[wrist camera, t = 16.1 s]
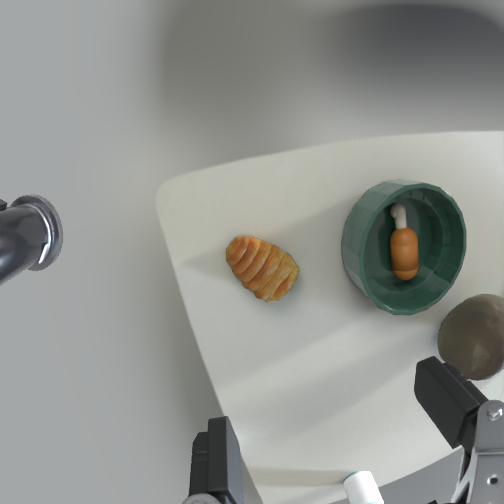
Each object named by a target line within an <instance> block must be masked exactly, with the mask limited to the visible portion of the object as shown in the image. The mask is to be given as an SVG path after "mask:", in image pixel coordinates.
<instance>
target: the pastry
mask: <svg viewBox="0 0 504 504" xmlns="http://www.w3.org/2000/svg"><path fill="white" fill-rule="evenodd" d="M226 261H227V262H228V264H229V265H230V267H231V268H232V271H233V272H234V274H235V275H236V276H237V277H238V279H239V280H240V281H241V282H242V284H243V286H244V287H245V288H247V289H249V290H250V291H252V292H253V293H255V296H256V297H257V298H258V299H264V300H265V301H266V302H275V301H278V300H280V299H281V298H282V297H283V296H285V295H286V294H287V293H288V292H289V291H290V289H291V288H292V286H293V284H294V283H295V281H296V279H297V277H298V273H299V267H298V266H297V265H296V263H295V262H294V260H293V258H292V257H291V256H290V255H289V254H288V253H286V252H284V251H283V250H281V249H279V248H278V247H277V246H274V245H272V244H269V243H266V242H264V241H262V240H259V239H257V238H254V237H250V236H239V237H236V238H234V239H233V240H232V241H231V243H230V244H229V246H228V248H227V249H226Z"/></svg>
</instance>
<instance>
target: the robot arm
mask: <svg viewBox="0 0 504 504" xmlns="http://www.w3.org/2000/svg"><path fill="white" fill-rule="evenodd" d="M51 246H52V229H51V225H50V222H49V220H48V218H47V216H46V214H45V213H44V212H43V211H42V210H41V209H40V208H39V207H37V206H36V205H33V204H23V205H19V206H15V205H14V206H10V207H7V203H6V202H5V201H3V200H1V199H0V286H1V285H3V284H4V283H6V282H7V281H9V280H11V279H12V278H14V277H15V276H17V275H18V274H20V273H21V272H23V271H25V270H26V269H28V268H30V267H31V266H33V265H35V264H37V263H41V262H42V261H43V260H44V259H45V258H46V257H47V255H48V254H49V252H50V249H51ZM414 392H415V396H416V398H417V400H418V402H419V403H420V404H421V406H422V407H423V408H424V410H425V411H426V413H427V414H428V415H429V417H430V418H431V419H432V421H433V422H434V424H435V425H436V426H437V428H438V429H439V431H440V432H441V433H442V435H443V436H444V438H445V439H446V440H447V442H448V443H449V445H450V446H451V448H452V449H454V448H456V447H458V446H460V445H462V446H463V447H464V450H463V452H462V459H461V464H460V470H459V476H458V480H457V485H456V489H455V492H454V494H453V497H452V499H451V502H450V503H446V504H504V403H503V402H501V401H499V400H490V401H489V400H488V399H487V398H486V397H485V396H484V395H483V394H482V393H481V392H480V391H479V390H478V388H477V387H476V386H475V385H474V384H473V383H472V382H471V381H469V380H468V378H467V377H466V376H465V375H463V373H462V372H461V371H460V370H459V369H458V368H457V367H456V366H453V365H451V364H449V363H447V362H446V363H443V364H442V363H441V362H440V361H439V360H438V359H437V358H436V357H435V356H431V357H429V358H427V359H424V360H422V361H420V362H418V363H417V366H416V376H415V385H414ZM190 474H191V475H190V488H189V495H188V498H187V499H185V501H184V502H183V503H182V504H244V499H243V485H242V471H241V457H240V447H239V443H238V440H237V437H236V435H235V432H234V430H233V427H232V425H231V423H230V420H229V418H228V416H224V417H218V418H212V419H209V421H208V432H201V433H198V435H197V437H196V438H195V440H194V442H193V448H192V463H191V473H190ZM428 504H437V502H436V500H434V501H432V502H430V503H428Z"/></svg>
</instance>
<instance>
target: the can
mask: <svg viewBox="0 0 504 504" xmlns="http://www.w3.org/2000/svg"><path fill="white" fill-rule="evenodd" d="M343 485H344V487H345V490H346V493H347V496H348V499H349V502H350V504H383V500H382V498H381V495H380V493H379V491H378V488H377V486H376V484H375V482H374V479H373V477H372V475H371V473H370V472H368V471H360V472H356V473H354V474H352V475H350V476H349V477H348V478H347V479H346V480H345V481H344V483H343Z"/></svg>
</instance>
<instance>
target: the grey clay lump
mask: <svg viewBox="0 0 504 504" xmlns="http://www.w3.org/2000/svg"><path fill="white" fill-rule="evenodd" d="M438 350H439V354H440V356H441V358H442V359H443V360H444V361H445V362H447V363H449V364H451V365H453V366H456V367H457V368H458V369H459V370H460V371H461V372H462V373H463V375H465V376H466V377H467V378H468V379H471V380H476V381H479V380H486V379H489V378H491V377H493V376H494V375H496V374H497V373H499V372H500V371H501V370H503V369H504V299H503V298H501V297H499V296H496V295H490V294H481V295H477V296H474V297H471V298H468V299H466V300H465V301H463V302H462V303H460V304H459V305H457V306H456V307H455V308H454V309H453V310H452V311H451V312H450V313H449V314H448V315H447V317H446V318H445V320H444V321H443V323H442V326H441V328H440V331H439V335H438Z"/></svg>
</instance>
